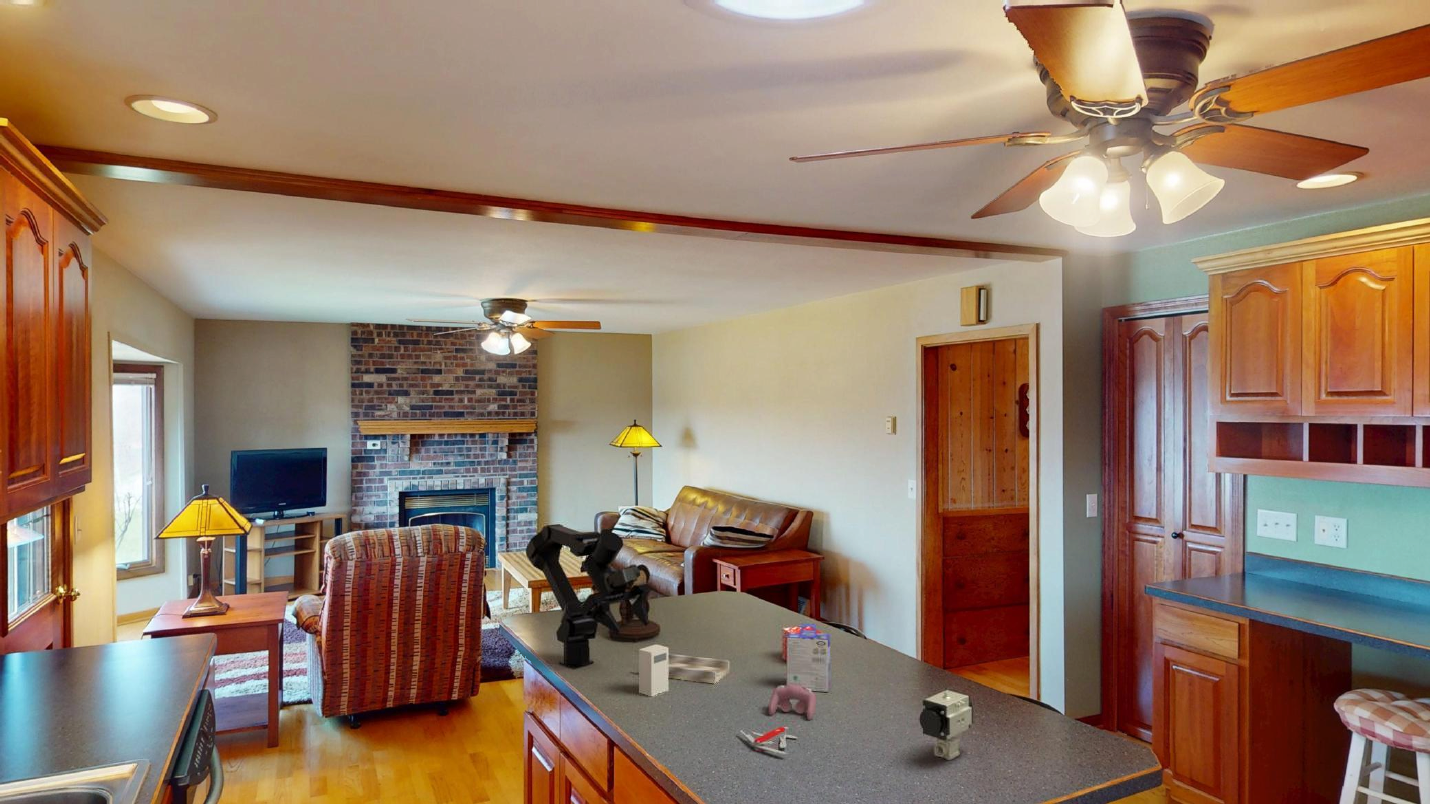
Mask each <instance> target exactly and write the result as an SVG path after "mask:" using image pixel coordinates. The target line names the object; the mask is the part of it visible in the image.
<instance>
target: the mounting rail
mask: <svg viewBox="0 0 1430 804" xmlns="http://www.w3.org/2000/svg"><path fill="white" fill-rule="evenodd" d="M729 673H730V660H727V659H718V658H717V659H716V658H711V657H710V658H709V657H708V658H707V657H700V656H699V657H698V656H690V655H683V654H674V653H668V678H674V679H673V680H676V679H681V680H680V681H684V680H691V681H690V682H692V681H697V682H696V683H699V682H708V683H714V684H713V685H716V684H717V683H719V682H720V681H721V680H722V679H723V678H724V677H726V674H727V675H728V674H729ZM723 676H724V677H723ZM721 678H722V679H721ZM720 679H721V680H720ZM719 680H720V681H719ZM716 682H717V683H716ZM715 683H716V684H715Z"/></svg>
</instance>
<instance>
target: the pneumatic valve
mask: <svg viewBox="0 0 1430 804" xmlns="http://www.w3.org/2000/svg"><path fill="white" fill-rule="evenodd" d="M973 723H974V706H973V702H972V701H971V694H967V693H963V692H960V691H957V690H952V689H949V688H948V689H946V690H944V691H942V692H939V693H937V694H935V695H932V696H930V697H927V698H925V699H923V700H922V711H921V712H920V714H919V724H920V727H921V728H922V735H927V736H929V737H932V738H934V739H933V741H934V743H935V744H934V747H933V751H934V752H933V753H934V754H933V755H934V756H935V757H940V758H943V759H946V760H947V761H951V760H953V759H955V758H957V757H958V756H960V750H959V747H960V738H959V737H957V735H959V734H961V733H963V732H965V731H967V730H969V729H971V725H972V724H973Z"/></svg>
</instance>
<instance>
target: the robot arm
mask: <svg viewBox="0 0 1430 804" xmlns="http://www.w3.org/2000/svg"><path fill="white" fill-rule="evenodd" d="M564 546H565V547H567V548H568V549H569V552H570V553H571V554H572V555H573V556H574V557H579V558H581V557H586V558H585V559H584V560H583V561H581V566H580V573H581V574H583V573H586V574H587V575H588V578H589V579H590V581H591V582H592V584H593V585H592V586H591V590H592V591H593V592H594V591H596V592H595V593H590V594H588V596H587V597H586V598H585V600H582V601H581V600H580V599H579V597H578V596H577V594H576V591H575V589H574V588H573V586H572V584H571V582H570V580H569V578H568V576H567V574H566V572H565V570H564V569H563V567H562V565H561V563H560V556H561V551H562V549H563V547H564ZM623 546H624V541H623V538H622V537H620V536H619V535H618V534H617V533H615V532H613V531H611V528H604V529H601V531H600V532H599V531H585V532H584V531H583V532H582V531H578V530H575V529H572V528H570V527H568V526H567V527H566V526H564V525H562V524H560V523H557V524H556V523H555V524H547V525H545V526H542V528H541V530H540V531H539V532H537V534H535V535H534V536H532V537H531V538H530V540H529V542H528V544H527V545H526V548H525V554H526V558H528V560H529V562H530V564H531V565H532V566H533V567H534V568H536V569H538V570H539V571H541V572H542V573H543V575H544V577H545V579H546V581H547V583H548V585H549V587H550V589H551V592H552V593H553V595H554V597H555V599H556V601H557V603H558V605H559V606H560V609H561V613H562V614H561V619H560V625H559V626H558V629H557V630H556V639H557V641H558V642H559V643H560V642H561V643H563V660H560V661H558V664H559V665H562V666H565V667H567V668H571V669H579V668H581V667H584V666H588V665H592V664H594V660H592V659H590V657H591V656H590V655H591V654H590V651H591V650H590V649H591V648H590V640H592V639H596V635H597V631H598V630H597V629H598V627H599V626H598V625H599V624H601V625H603V626H604V627H606V628H608V630H609V629H610V630H612V631H614V632H615V633H617V634H619V633H620V628H619V626H618V624H617V622H618V621H617V620H616V619H615V616H614V615H613V613H612V611H611V606H610V605H613V604H618V603H620V602H623V601H626V603H627V604H628V605H630V606H631V607H630V608H629V609H630V610H631V611H632V612H633V613H634V614H635V615H636V616H637V618H636V619H639V620H640V621H641V622H642V623H643V624H644V625H645V626H648V624H649V614H648V615H647V610H646V598H647V597H648V598H649V596H650V594H651V592H652V588H651V587H650V585H649V583H648V584H647V583H641V584H636V585H634V586H633V587H632V588H631V589H630V591H629V592H625V590H626V589H628V587H629V583H631V582H633V581H637V580H638V579H637V578H638V577H640V571H639V569H638V567H637V566H638V565H636V564H631V565H629V566H627V567H626V568H627V569H624V568H623V570H622V569H620V570H613V568H612V566H611V564H612V563H614V561H615V560H616V558H617V556H618V555H619V553H620V551H621V550H622V548H623Z"/></svg>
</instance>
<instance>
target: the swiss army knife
mask: <svg viewBox="0 0 1430 804" xmlns="http://www.w3.org/2000/svg"><path fill="white" fill-rule="evenodd" d="M789 728H790V727H788V726H779V727H777V728H775V729H772V730H771V731H769V732H767V733H765V734H762V733H759V732H754V731H752V732H751V733H752V734H753V735H754V736H756V738H755V737H753V736H752V735H751V734H746V732H744V731H743V730H742V729H739V732H740V734H742V735H743V736H744V737H745V738H746V739H747V740H748V741H750V743H752V745H754V747H753V748H754V749H755V750H754V751H757V752H763V751H767V752H772V753H776V754H778V755H784V756H787V755H789V754H788V753H787V752H784V751H781V750H778V749H776V748H775V749H774V748H772V745H773V746H774V745H776V744H778V743H779V748H780V749H785V748H786V747H787V740H786V739H787V738H789V739H799V737H797V736H795V735H792V734H787V730H788V729H789ZM757 737H758V738H757ZM779 741H780V742H779ZM777 742H778V743H777ZM769 746H771V747H769ZM768 747H769V748H768Z"/></svg>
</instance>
